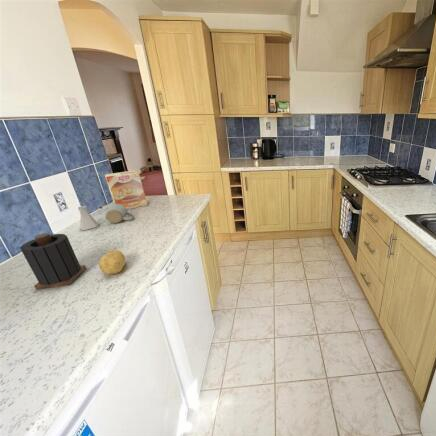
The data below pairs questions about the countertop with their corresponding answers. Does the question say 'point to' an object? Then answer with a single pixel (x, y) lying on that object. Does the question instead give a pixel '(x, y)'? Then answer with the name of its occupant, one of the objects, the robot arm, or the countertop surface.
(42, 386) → the countertop surface
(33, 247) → the tape roll
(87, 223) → the flask
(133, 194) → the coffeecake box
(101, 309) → the countertop surface
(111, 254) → the potato
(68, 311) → the countertop surface
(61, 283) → the peg
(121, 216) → the ceramic mug
